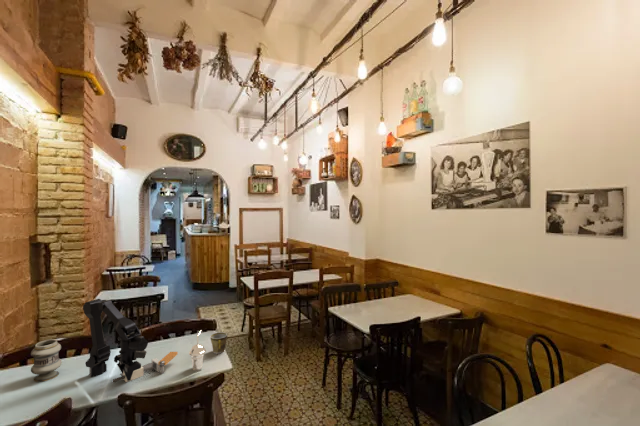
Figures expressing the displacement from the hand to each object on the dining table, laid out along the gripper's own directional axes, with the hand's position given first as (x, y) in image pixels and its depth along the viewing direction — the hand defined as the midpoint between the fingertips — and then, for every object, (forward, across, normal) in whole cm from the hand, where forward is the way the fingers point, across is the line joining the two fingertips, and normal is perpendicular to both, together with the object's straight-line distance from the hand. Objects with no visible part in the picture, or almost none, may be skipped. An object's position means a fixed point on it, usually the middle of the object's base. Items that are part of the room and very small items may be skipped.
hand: (127, 378), depth 154 cm
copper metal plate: (-4, -4, -18) cm, 19 cm away
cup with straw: (+2, -17, -28) cm, 33 cm away
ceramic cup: (+2, -8, -48) cm, 48 cm away
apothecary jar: (+2, +38, +24) cm, 45 cm away
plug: (0, 0, 0) cm, 1 cm away
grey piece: (+2, 0, -8) cm, 8 cm away
